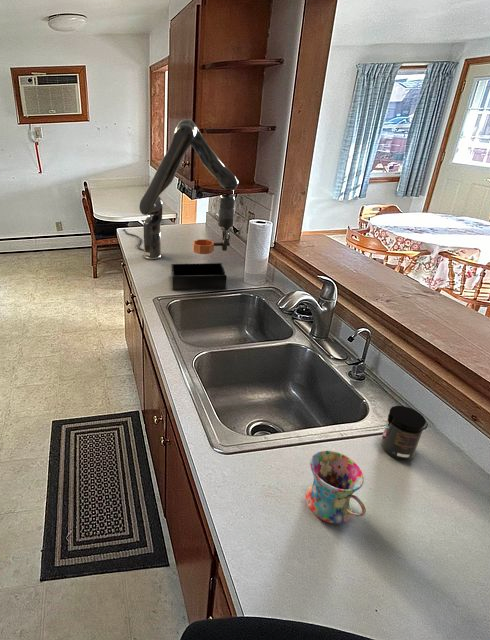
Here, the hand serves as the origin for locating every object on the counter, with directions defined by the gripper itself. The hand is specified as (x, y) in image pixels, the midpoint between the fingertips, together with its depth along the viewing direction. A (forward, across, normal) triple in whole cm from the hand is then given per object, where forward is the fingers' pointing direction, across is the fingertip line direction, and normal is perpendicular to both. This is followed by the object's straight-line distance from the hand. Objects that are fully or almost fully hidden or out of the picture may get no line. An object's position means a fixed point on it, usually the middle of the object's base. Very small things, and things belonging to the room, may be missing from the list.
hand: (224, 249), depth 198 cm
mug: (+7, -134, +1) cm, 135 cm away
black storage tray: (+8, -23, +16) cm, 29 cm away
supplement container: (+7, -119, -20) cm, 121 cm away
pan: (0, 0, +7) cm, 7 cm away
